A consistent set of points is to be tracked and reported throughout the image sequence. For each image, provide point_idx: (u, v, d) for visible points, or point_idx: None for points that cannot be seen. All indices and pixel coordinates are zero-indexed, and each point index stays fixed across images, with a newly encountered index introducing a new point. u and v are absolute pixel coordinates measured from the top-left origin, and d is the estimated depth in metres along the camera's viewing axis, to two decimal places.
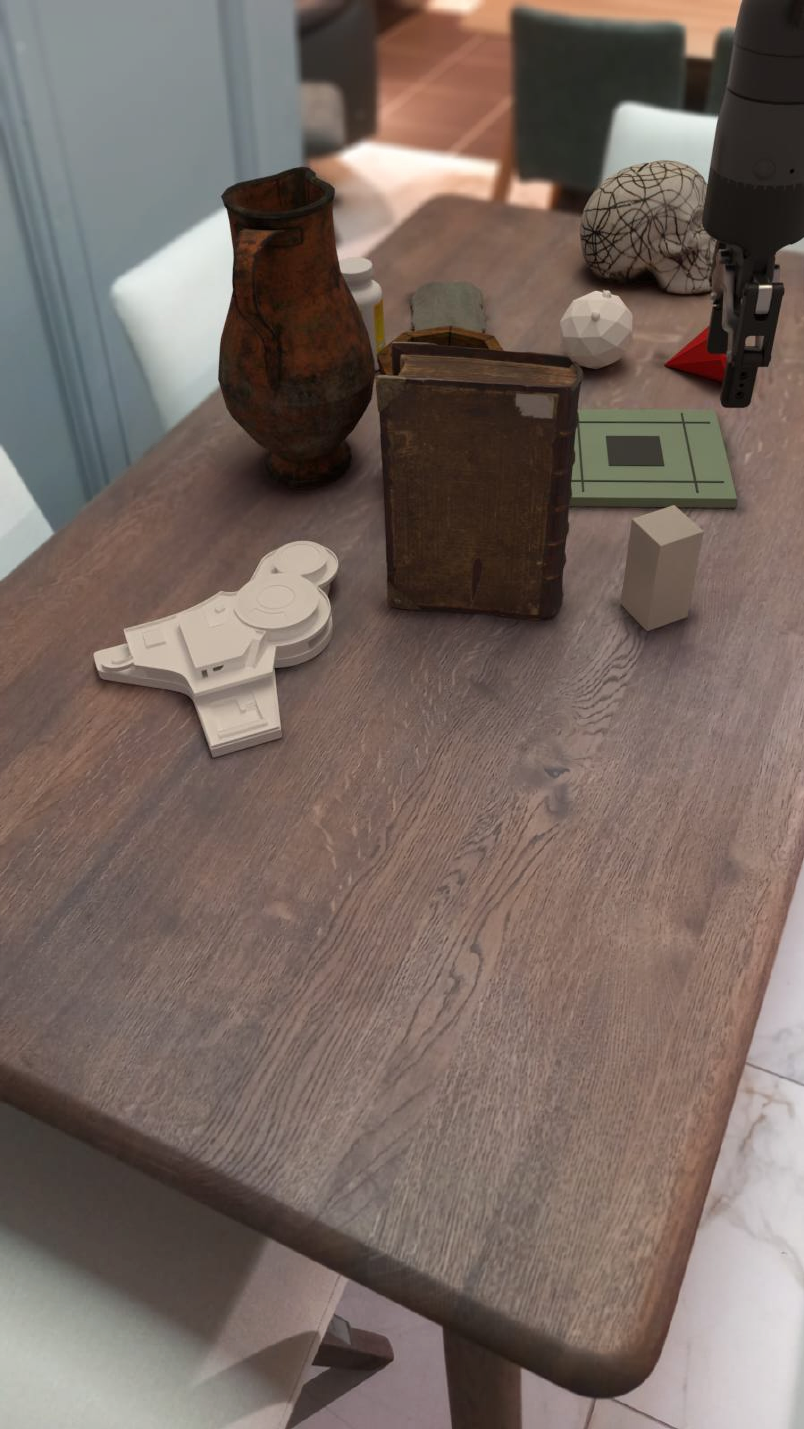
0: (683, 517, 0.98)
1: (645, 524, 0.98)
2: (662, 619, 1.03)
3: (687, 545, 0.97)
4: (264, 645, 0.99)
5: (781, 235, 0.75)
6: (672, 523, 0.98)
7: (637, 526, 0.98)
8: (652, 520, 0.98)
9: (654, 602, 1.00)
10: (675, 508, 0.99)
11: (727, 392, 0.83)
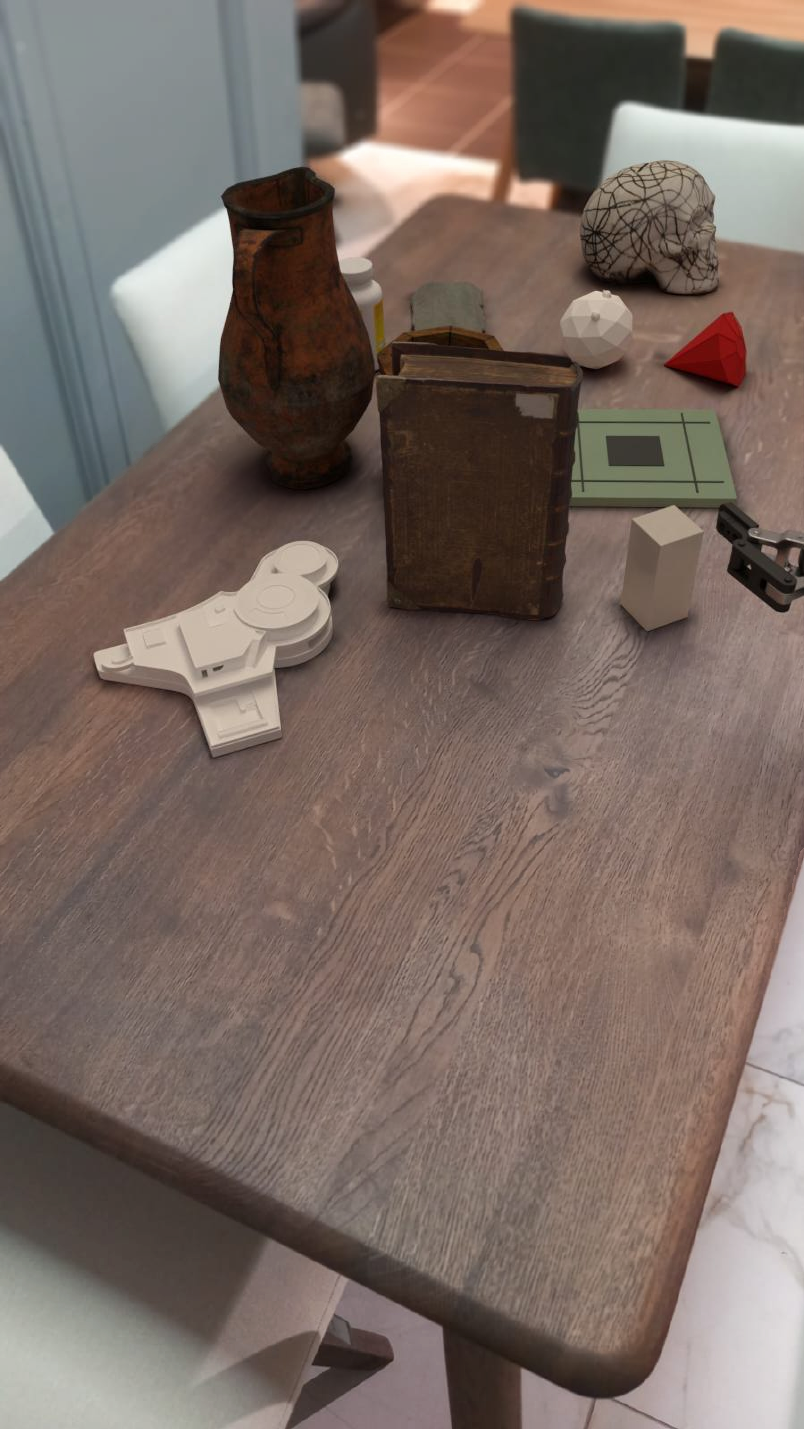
0: (683, 517, 0.98)
1: (645, 524, 0.98)
2: (662, 619, 1.03)
3: (687, 545, 0.97)
4: (264, 645, 0.99)
5: None
6: (672, 523, 0.98)
7: (637, 526, 0.98)
8: (652, 520, 0.98)
9: (654, 602, 1.00)
10: (675, 508, 0.99)
11: None
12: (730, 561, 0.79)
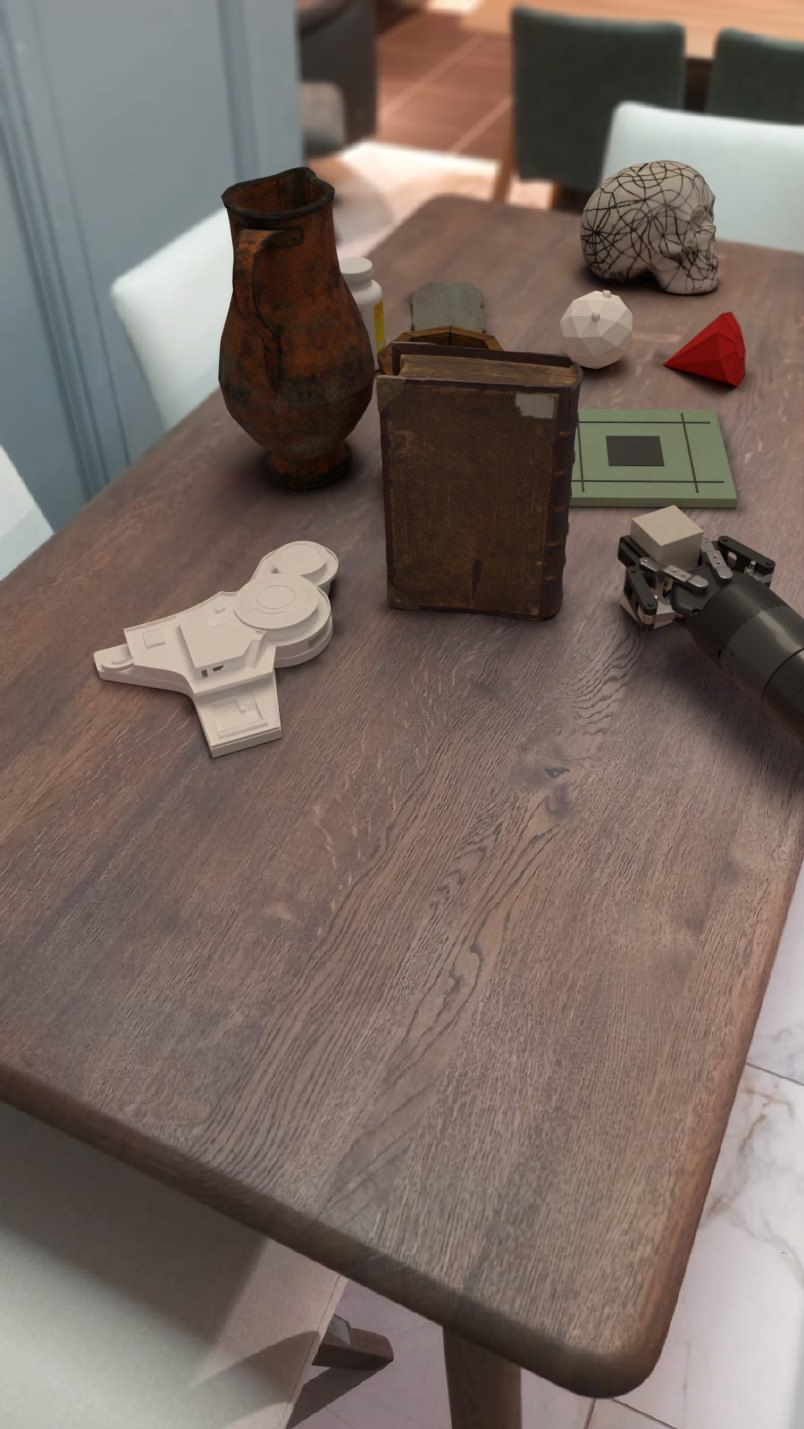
0: (683, 517, 0.99)
1: (645, 524, 0.98)
2: None
3: (687, 545, 0.97)
4: (264, 645, 0.99)
5: None
6: (672, 523, 0.98)
7: (637, 526, 0.98)
8: (652, 520, 0.98)
9: None
10: (675, 508, 1.00)
11: None
12: (625, 584, 0.97)
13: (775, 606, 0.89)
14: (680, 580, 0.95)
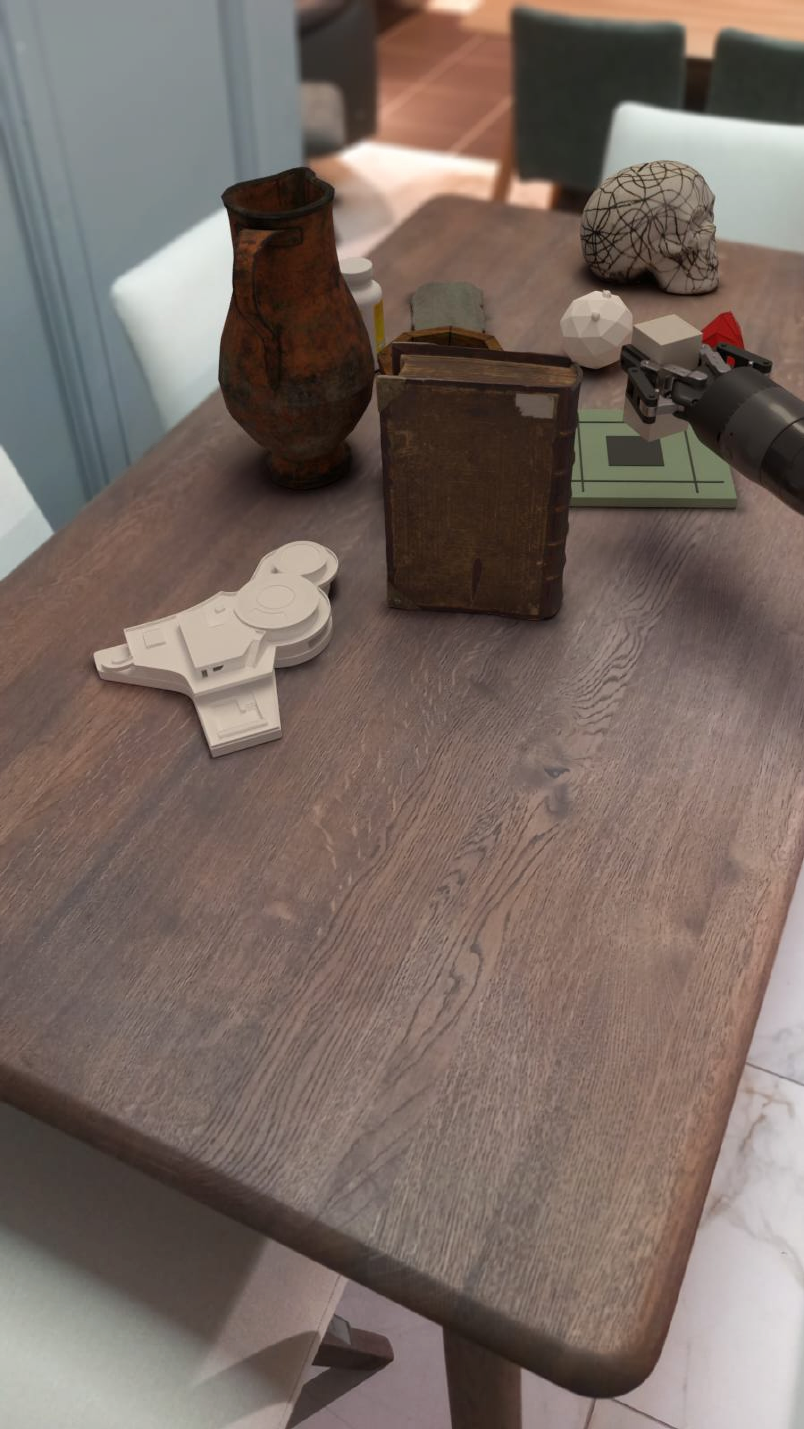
0: (683, 323, 1.02)
1: (646, 329, 1.01)
2: (663, 429, 1.06)
3: (687, 347, 1.00)
4: (264, 645, 0.99)
5: None
6: (672, 328, 1.01)
7: (638, 331, 1.01)
8: (653, 326, 1.02)
9: None
10: (675, 316, 1.03)
11: None
12: (627, 385, 1.01)
13: (772, 386, 0.92)
14: (680, 376, 0.98)
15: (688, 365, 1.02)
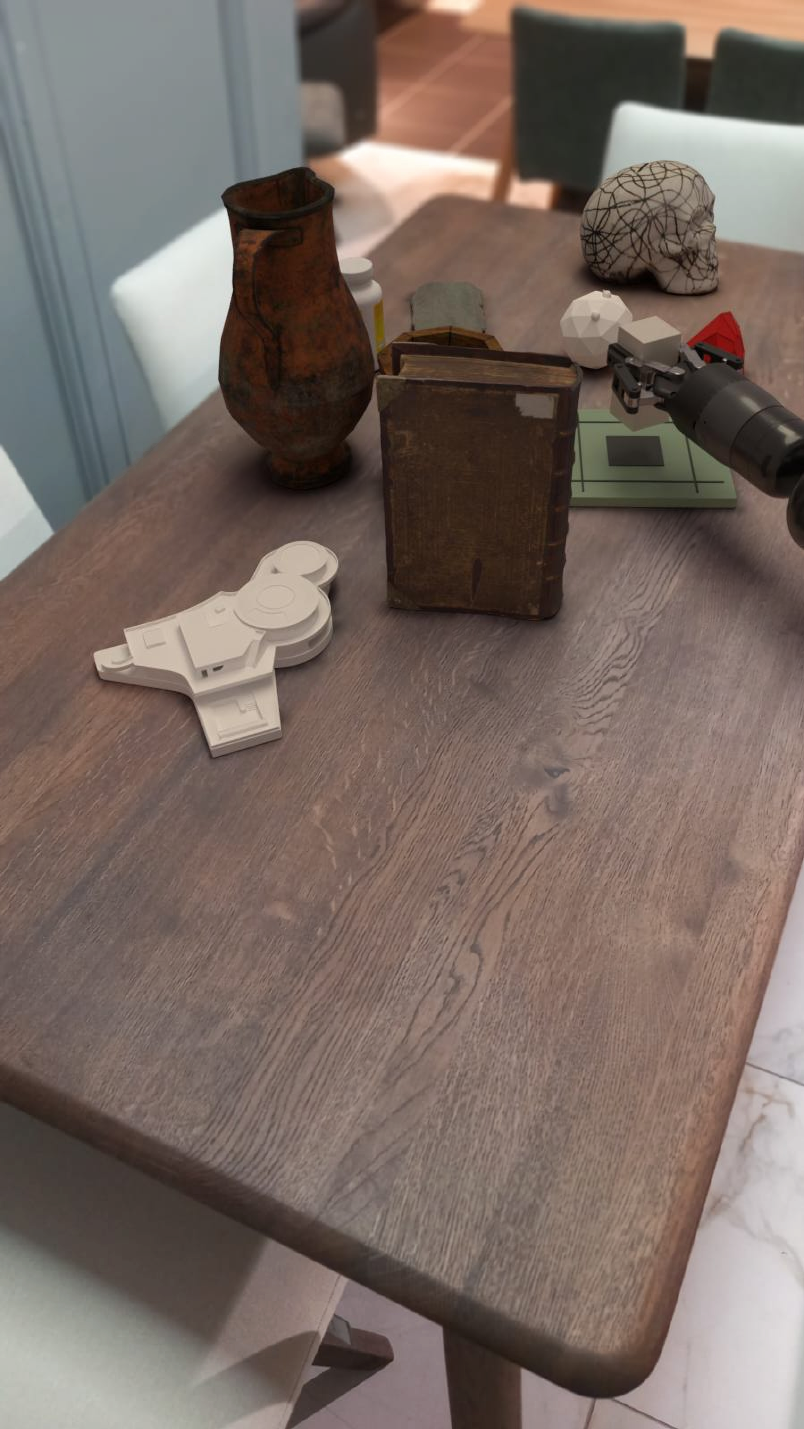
0: (664, 324, 1.13)
1: (631, 329, 1.12)
2: (646, 420, 1.17)
3: (667, 345, 1.11)
4: (264, 645, 0.99)
5: None
6: (654, 328, 1.12)
7: (623, 331, 1.12)
8: (637, 326, 1.12)
9: None
10: (657, 318, 1.14)
11: None
12: (613, 380, 1.11)
13: (742, 380, 1.02)
14: (660, 371, 1.09)
15: (668, 362, 1.13)
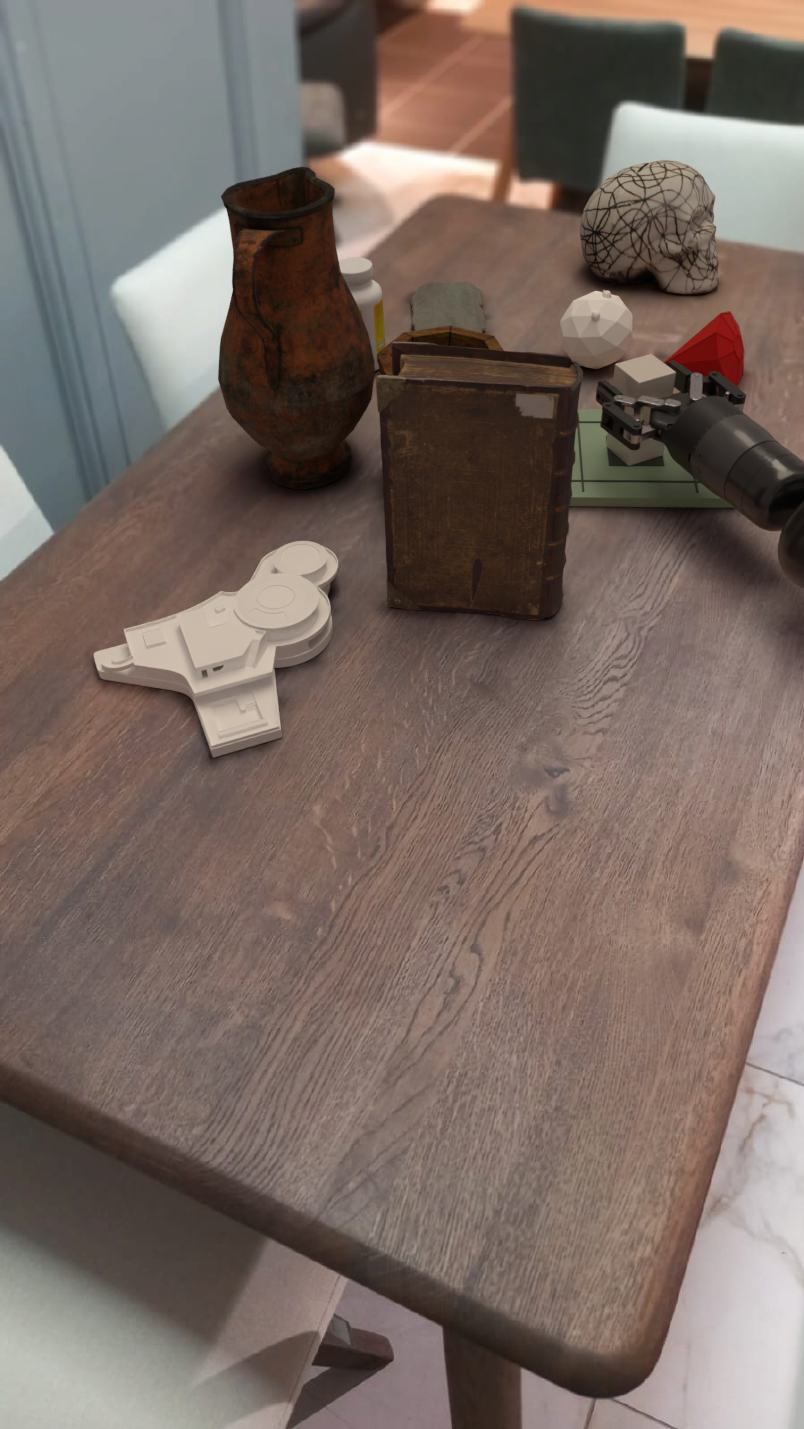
0: (658, 362, 1.16)
1: (626, 367, 1.15)
2: (641, 455, 1.20)
3: (662, 384, 1.14)
4: (264, 645, 0.99)
5: None
6: (649, 367, 1.15)
7: (619, 369, 1.15)
8: (632, 365, 1.15)
9: None
10: (652, 356, 1.17)
11: None
12: (601, 418, 1.13)
13: (736, 414, 1.05)
14: (656, 405, 1.11)
15: None
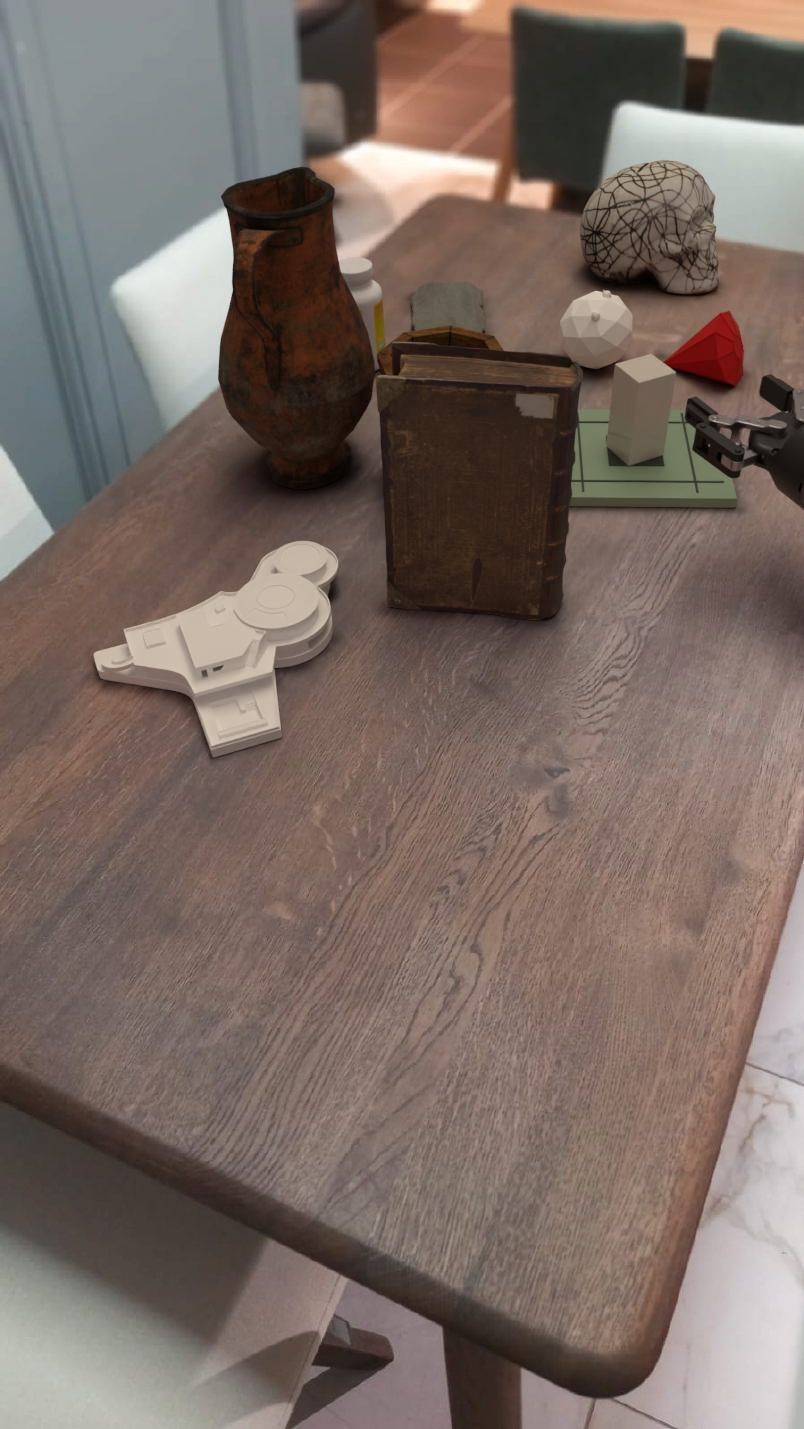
0: (658, 362, 1.16)
1: (626, 367, 1.15)
2: (641, 455, 1.20)
3: (662, 384, 1.14)
4: (264, 645, 0.99)
5: None
6: (649, 367, 1.15)
7: (619, 369, 1.15)
8: (632, 365, 1.15)
9: (634, 437, 1.18)
10: (652, 356, 1.17)
11: None
12: (694, 441, 1.00)
13: None
14: (758, 427, 0.98)
15: (663, 399, 1.16)
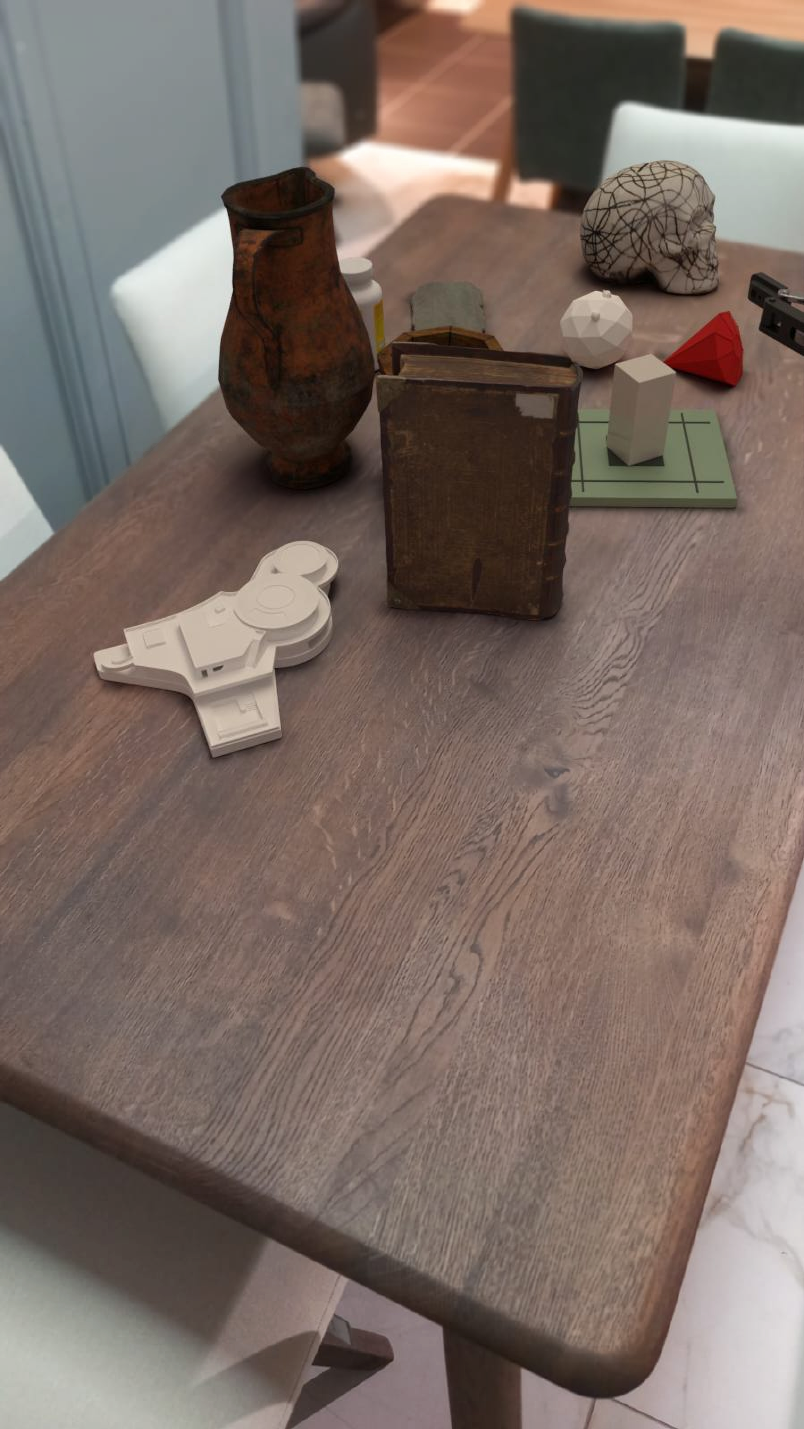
0: (658, 362, 1.16)
1: (626, 367, 1.15)
2: (641, 455, 1.20)
3: (662, 384, 1.14)
4: (264, 645, 0.99)
5: None
6: (649, 367, 1.15)
7: (619, 369, 1.15)
8: (632, 365, 1.15)
9: (634, 437, 1.18)
10: (652, 356, 1.17)
11: None
12: (762, 318, 0.87)
13: None
14: None
15: (663, 399, 1.16)
